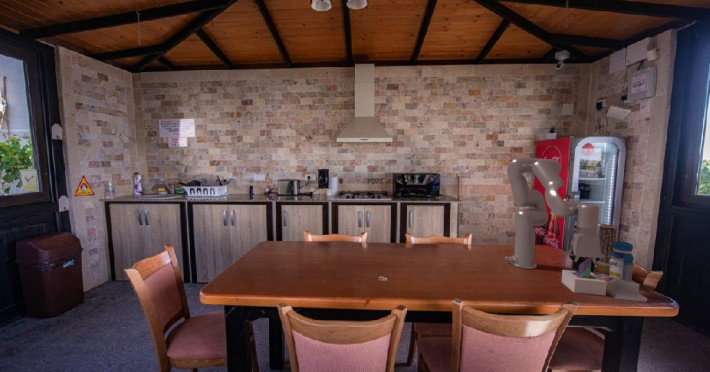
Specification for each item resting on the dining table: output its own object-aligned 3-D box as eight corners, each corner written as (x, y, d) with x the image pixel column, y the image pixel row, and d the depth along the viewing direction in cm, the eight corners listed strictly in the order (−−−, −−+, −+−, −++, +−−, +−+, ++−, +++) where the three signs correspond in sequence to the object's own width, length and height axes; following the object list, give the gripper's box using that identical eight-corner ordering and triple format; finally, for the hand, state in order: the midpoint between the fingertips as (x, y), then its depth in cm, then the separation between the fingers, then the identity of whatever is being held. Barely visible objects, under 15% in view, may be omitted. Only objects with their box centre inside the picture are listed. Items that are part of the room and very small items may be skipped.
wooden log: (616, 274, 154) (620, 227, 152) (601, 273, 155) (604, 226, 153) (607, 270, 161) (611, 224, 159) (593, 269, 162) (597, 223, 160)
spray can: (570, 283, 139) (574, 241, 137) (581, 283, 139) (585, 241, 137) (580, 288, 133) (584, 245, 131) (592, 288, 134) (596, 244, 132)
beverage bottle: (633, 289, 135) (637, 246, 134) (609, 285, 140) (613, 243, 138) (629, 283, 142) (632, 242, 141) (606, 279, 147) (609, 239, 145)
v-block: (600, 288, 136) (601, 276, 136) (629, 291, 134) (630, 279, 133) (615, 298, 126) (616, 286, 125) (647, 301, 123) (648, 289, 123)
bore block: (574, 292, 131) (575, 279, 131) (561, 282, 143) (562, 269, 142) (605, 295, 129) (606, 282, 128) (590, 284, 140) (591, 272, 140)
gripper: (568, 231, 132) (565, 271, 134) (613, 234, 128) (609, 275, 130) (561, 228, 139) (558, 265, 141) (603, 230, 136) (599, 269, 137)
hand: (582, 270), depth 135 cm, fingers closed on spray can, 5 cm apart
